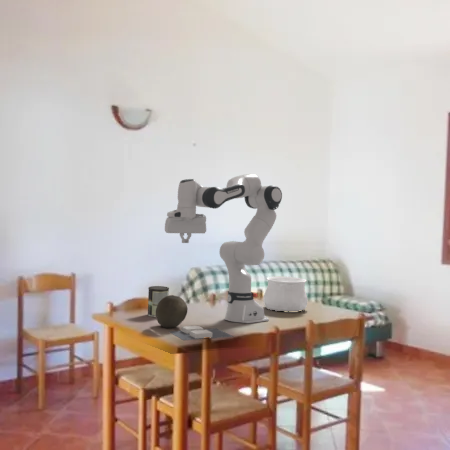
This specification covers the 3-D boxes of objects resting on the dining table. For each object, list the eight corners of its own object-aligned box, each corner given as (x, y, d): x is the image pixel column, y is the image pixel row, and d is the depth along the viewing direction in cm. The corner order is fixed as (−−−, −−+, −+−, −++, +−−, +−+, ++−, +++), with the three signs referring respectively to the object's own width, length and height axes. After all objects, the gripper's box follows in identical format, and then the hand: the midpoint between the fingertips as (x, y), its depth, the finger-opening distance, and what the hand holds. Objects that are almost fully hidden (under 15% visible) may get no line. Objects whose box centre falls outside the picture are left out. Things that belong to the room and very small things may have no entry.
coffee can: (143, 315, 318) (144, 287, 317) (155, 312, 327) (156, 285, 326) (159, 318, 313) (160, 289, 312) (172, 315, 322) (173, 287, 321)
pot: (305, 315, 338) (307, 283, 337) (260, 311, 343) (261, 280, 342) (308, 306, 363) (309, 277, 363) (265, 303, 368) (267, 274, 367)
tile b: (206, 329, 279) (189, 330, 275) (212, 332, 274) (195, 333, 270) (206, 334, 279) (189, 335, 276) (212, 337, 274) (195, 338, 270)
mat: (216, 329, 293) (216, 328, 293) (233, 337, 278) (233, 336, 278) (168, 332, 282) (168, 331, 282) (183, 341, 267) (183, 340, 267)
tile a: (197, 325, 287) (181, 326, 283) (203, 328, 282) (187, 329, 278) (197, 330, 287) (181, 331, 284) (203, 332, 282) (186, 334, 278)
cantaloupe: (165, 332, 282) (166, 299, 281) (149, 326, 294) (151, 294, 293) (192, 329, 290) (193, 297, 290) (175, 323, 302) (177, 292, 301)
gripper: (203, 213, 305) (202, 242, 306) (163, 212, 296) (162, 242, 297) (209, 214, 300) (208, 243, 301) (169, 213, 290) (168, 243, 291)
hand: (185, 242), depth 298 cm, fingers closed
